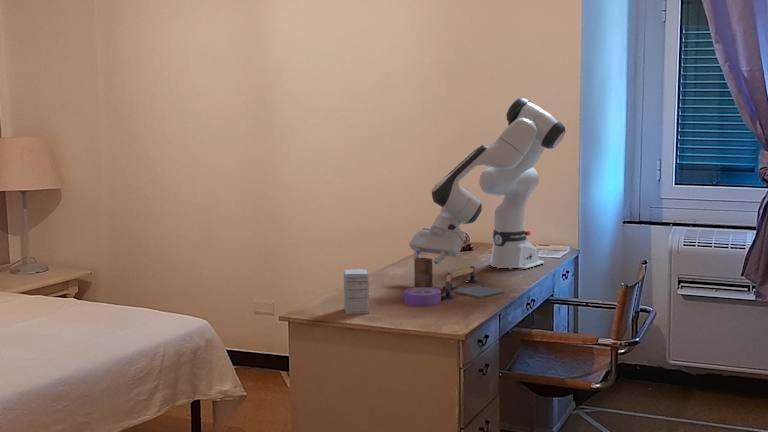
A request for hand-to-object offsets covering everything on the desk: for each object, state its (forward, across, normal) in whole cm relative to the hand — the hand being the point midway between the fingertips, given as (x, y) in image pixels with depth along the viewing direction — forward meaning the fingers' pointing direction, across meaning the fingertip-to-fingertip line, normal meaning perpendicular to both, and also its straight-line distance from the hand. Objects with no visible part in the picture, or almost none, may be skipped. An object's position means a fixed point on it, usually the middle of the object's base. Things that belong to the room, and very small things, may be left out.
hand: (425, 261), depth 313 cm
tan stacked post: (+7, -1, +6) cm, 9 cm away
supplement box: (+36, +6, -22) cm, 42 cm away
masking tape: (+19, +13, -6) cm, 24 cm away
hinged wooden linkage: (+4, +10, +9) cm, 14 cm away
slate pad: (+3, +19, +10) cm, 22 cm away
